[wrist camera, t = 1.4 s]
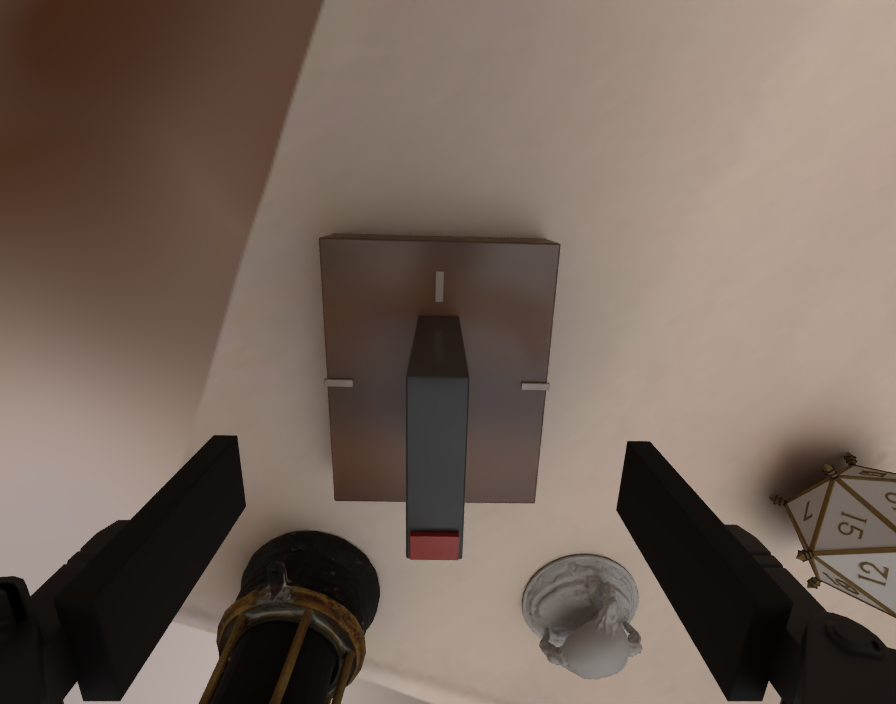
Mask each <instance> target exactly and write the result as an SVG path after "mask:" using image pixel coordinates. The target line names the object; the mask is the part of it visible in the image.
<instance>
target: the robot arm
mask: <svg viewBox="0 0 896 704" xmlns="http://www.w3.org/2000/svg"><path fill="white" fill-rule="evenodd" d="M245 507H246V502H245V494H244V486H243V478H242V471H241V463H240V455H239V447H238V439H237V436H225V435H214V436H213V437H212V438H211V439H210V440H209V441H208V442H207V443H206V444H205V445H204V446H203V447H202V448H201V449H200V450H199V451H198V452H197V453H196V454H195V455H194V456H193V457H192V458H191V459H190V460H189V461H188V462H187V463H186V464H185V465H184V466H183V467H182V468H181V469H180V470H179V471H178V472H177V473H176V474H175V475H174V476H173V477H172V478H171V479H170V480H169V481H168V482H167V483H166V484H165V485H164V486H163V487H162V488H161V489H160V490H159V491H158V493H156V494H155V495H154V496H153V497H152V499H150V501H149V502H148V503H147V504H146V505H145V506H144V507H143V508H142V509H141V510H140V511H139V512H138V513H137V514H136V515H135V516H134V517H133V518H132V519H131V520H118V521H116V522H115V523H113V524H111V525H110V526H108V527H106V528H105V529H103V530H101V531H100V532H98V533H97V534H96V535H94V536H93V537H92V538H91V539H90V540H89V541H88V542H87V543H86V544H85V545H84V546H83V547H82V548H81V550H80V552H77V553H76V554H75V555H73V556H72V557H71V558H70V559H69V560H68V562H67V564H64V565H63V566H62V567H61V568H60V569H59V570H58V571H57V572H56V573H55V574H53V575H52V576H51V577H50V578H49V579H48V580H47V581H46V582H45V583H44V584H43V585H42V586H41V587H40V588H39V589H38V590H37V591H36V592H35V593H34V594H33V595H31V596H30V595H29V592H28V588H27V585H26V584H25V582H24V580H23V579H21V578H18V577H14V576H10V577H0V704H64V702H63V699H64V698H65V696H66V695H67V694H68V692H69V691H70V690H71V688H72V687H73V686H74V684H75V683H76V682H77V681H78V684H79V688H80V691H81V695H82V698H83V701H121V699H122V697H123V696H124V694H125V693H126V691H127V690H128V688H129V687H130V685H131V684H132V682H133V681H134V679H135V677H136V676H137V674H138V672H139V671H140V670H141V668H142V667H143V665H144V663H145V662H146V660H147V659H148V657H149V656H150V654H151V653H152V651H153V650H154V648H155V646H156V645H157V643H158V642H159V640H160V639H161V637H162V636H163V634H164V632H165V631H166V629H167V628H168V626H169V625H170V623H171V622H172V620H173V619H174V617H175V615H176V614H177V612H178V611H179V609H180V608H181V606H182V605H183V603H184V601H185V600H186V598H187V597H188V595H189V594H190V592H191V591H192V589H193V588H194V586H195V584H196V583H197V581H198V580H199V578H200V577H201V575H202V574H203V572H204V570H205V569H206V567H207V566H208V564H209V563H210V561H211V560H212V558H213V557H214V555H215V553H216V552H217V550H218V549H219V547H220V546H221V544H222V543H223V541H224V540H225V538H226V536H227V535H228V533H229V532H230V530H231V529H232V527H233V526H234V524H235V522H236V521H237V519H238V518H239V516H240V515H241V513H242V512H243V510H244V509H245ZM616 510H617V512H618V514H619V515H620V517H621V519H622V520H623V522H624V524H625V526H626V527H627V529H628V531H629V532H630V534H631V536H632V538H633V539H634V541H635V543H636V544H637V546H638V548H639V550H640V551H641V553H642V555H643V556H644V558H645V560H646V562H647V563H648V565H649V567H650V568H651V570H652V572H653V574H654V575H655V577H656V579H657V580H658V582H659V584H660V586H661V587H662V589H663V591H664V592H665V594H666V596H667V598H668V599H669V601H670V603H671V604H672V606H673V608H674V610H675V611H676V613H677V615H678V616H679V618H680V620H681V622H682V623H683V625H684V627H685V628H686V630H687V632H688V634H689V635H690V637H691V639H692V640H693V642H694V644H695V646H696V647H697V649H698V651H699V652H700V654H701V656H702V658H703V659H704V661H705V663H706V664H707V666H708V668H709V670H710V671H711V673H712V675H713V676H714V678H715V680H716V682H717V683H718V685H719V687H720V688H721V690H722V692H723V694H724V695H725V697H726V699H727V700H728V701H762V700H763V697H764V694H765V691H766V687H767V684H768V681H770V683H771V684H772V685H773V687H774V688H775V690H776V691H777V693H778V694H779V695H780V697H781V698H782V699H781V702H780V704H896V650H895V649H891V648H888V647H886V646H885V644H884V643H883V642H882V641H881V640H880V639H879V638H878V637H877V636H876V635H875V634H873V633H872V632H871V631H869V630H868V629H867V628H865V627H864V626H862V625H860V624H859V623H857V622H855V621H853V620H851V619H849V618H847V617H844V616H841V615H838V614H835V613H829V612H827V611H826V610H825V609H824V608H823V607H822V606H821V605H820V604H819V603H818V602H817V601H816V600H815V599H814V597H813V596H812V595H811V594H810V593H809V592H808V591H807V590H806V589H805V588H804V587H803V586H802V585H801V584H800V583H799V582H798V581H797V580H796V579H795V578H794V577H793V576H792V574H791V573H790V572H789V571H788V570H787V569H786V568H783V566H782V564H781V563H780V562H779V561H778V560H777V559H776V558H775V557H774V556H771V553H770V551H769V550H768V549H767V548H766V547H765V546H764V545H763V544H762V543H761V542H760V541H759V540H758V539H757V538H756V537H754V536H753V535H751V534H750V533H748V532H747V531H745V530H744V529H742V528H741V527H739V526H738V525H724V524H723V523H722V522H721V520H720V519H719V518H718V517H717V516H716V515H715V514H714V513H713V512H712V510H711V509H710V508H709V507H708V506H707V505H706V504H705V503H704V502H703V500H702V499H701V498H700V497H699V496H698V495H697V494H696V493H695V491H694V490H693V489H692V488H691V487H690V486H689V485H688V484H687V483H686V481H685V480H684V479H683V478H682V477H681V476H680V475H679V474H678V472H677V471H676V470H675V469H674V468H673V467H672V466H671V465H670V464H669V462H668V461H667V460H666V459H665V458H664V457H663V456H662V455H661V453H660V452H659V451H658V450H657V449H656V448H655V447H654V446H653V445H652V443H651V442H647V441H627V448H626V454H625V460H624V466H623V472H622V478H621V485H620V491H619V497H618V503H617V509H616Z"/></svg>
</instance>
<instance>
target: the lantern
mask: <svg viewBox="0 0 896 704" xmlns="http://www.w3.org/2000/svg"><path fill="white" fill-rule="evenodd" d="M379 598H380V587H379V583H378V577H377V574H376V571H375V569H374V567H373V566H372V564H371V563H370V561H369V560H368V558H367V556H366V555H364V554H363V553H362V552H361V551H360V550H359V549H357V548H356V547H355V546H353V545H352V544H350V543H348V542H347V541H345V540H343V539H341V538H338V537H336V536H332V535H328V534H325V533H321V532H317V531H306V532H292V533H288V534H285V535H283V536H280V537H278V538H275V539H273V540H271V541H270V542H268V543H266V544H265V545H263V546H262V547H261V548H260V549H259V550H258V551H257V552H256V553H254V554H253V556H252V558H251V560H250V561H249V563H248V565H247V567H246V569H245V571H244V573H243V577H242V581H241V591H240V592H239V595H238V597H237V598H236V601H235V602H234V604H232V605H231V606H230V607H229V608H228V609H227V610H226V611H225V613H224V615H223V617H222V619H221V621H220V623H219V626H218V633H217V641H216V642H217V646H218V651H219V661H218V663H217V665H216V667H215V669H214V671H213V674H212V676H211V678H210V680H209V682H208V684H207V687H206V689H205V691H204V693H203V695H202V698H201V700H200V702H199V704H330V702H331V699H332V698H333V700H332V703H331V704H341V701H342V697H343V693H344V690H345V687H346V686H348V685H349V684H350V683H352V681H353V680H354V679H355V677H356V676H357V674H358V673H359V672H360V670H361V668H362V664H363V661H364V657H365V654H366V648H365V637H364V636H365V632H366V630H367V629H368V628H369V626H370V625H371V623H372V622H373V619H374V617H375V614H376V612H377V608H378V603H379Z"/></svg>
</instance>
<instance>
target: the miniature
mask: <svg viewBox="0 0 896 704" xmlns="http://www.w3.org/2000/svg"><path fill="white" fill-rule="evenodd" d="M637 606H638V591H637V587H636V585H635V582H634V580H633V578H632V577H631V575H630V574H629V573H628V572H627V570H626V569H624V568H623V567H622V566H621V565H619V564H618V563H616V562H614V561H612V560H610V559H608V558H605V557H601V556H596V555H573V556H568V557H564V558H561V559H558V560H556V561H554V562H552V563H550V564H548V565H546V566H545V567H544V568H542V569H541V570H540V571H539V572H537V573H536V574H535V575H534V577H533V578H532V579H531V580H530V582H529V583H528V585H527V587H526V589H525V592H524V596H523V613H524V617H525V620H526V622H527V624H528V626H529V627H530V628H531V630H532V631H533V632H534V633H535V634H536V635H537V636H539V637H540V638H541V639H542V640H541V641H540V644H539V646H540V648H541V650H542V652H543V653H544V654H545V655H547V659H548V661H549V662H550V663H552V664H553V663H555V664H557V665H561V666H562V667H564V668H566V669H568V670H569V671H571V672H573V673H575V674H577V675H578V676H580V677H582V678H585V679H601V678H604V677H608V676H611V675H613V674H616V673H618V672H619V671H621V670H622V669H623V668H624V666H625V665H626V663H627V660H628V657H633V656H634V655H636V654H637V653H640V652H641V651H642V646H641V644H640V641H641V637H640V635H639V633H638V632H637V631H636V630H635V629H634V628H633V627H632V626H631V625H630V624H629V623H630V622H631V620H632V619H633V617H634V615H635V613H636V610H637ZM624 629H626V631H627V632H628V633H630V634H629V635H628V638H627V635H626V633H625V631H624ZM553 644H554V645H557V646H560V647H556V646H554V645H553Z"/></svg>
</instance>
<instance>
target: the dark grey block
mask: <svg viewBox="0 0 896 704" xmlns="http://www.w3.org/2000/svg"><path fill="white" fill-rule="evenodd" d="M469 387H470V376H469V370H468V364H467V358H466V352H465V346H464V340H463V334H462V328H461V322H460V317H445V316H418V319H417V324H416V329H415V334H414V339H413V344H412V348H411V353H410V358H409V363H408V368H407V373H406V557H407V558H410V559H411V560H458V559H461V558H462V548H463V525H464V502H465V479H466V456H467V433H468V410H469Z"/></svg>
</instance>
